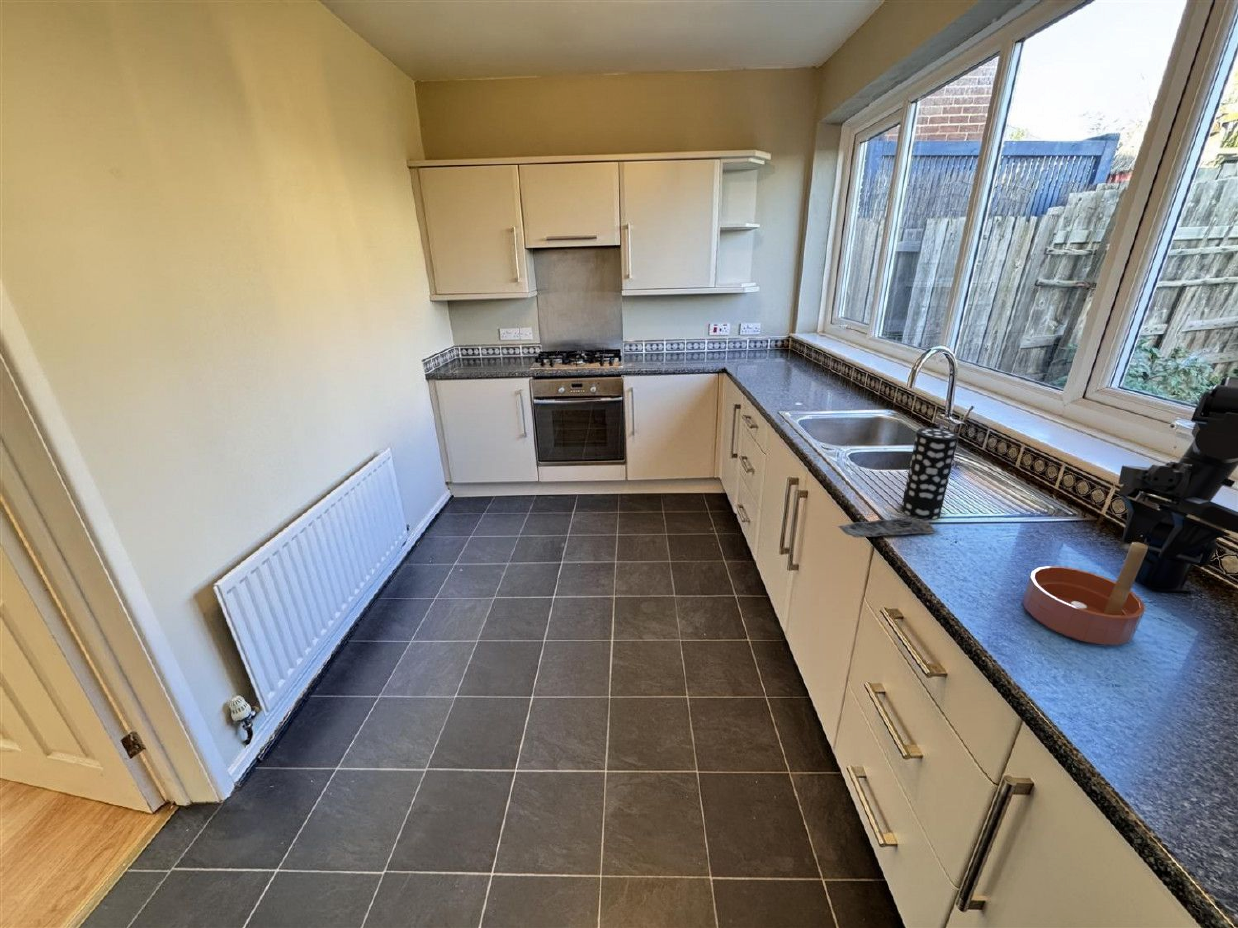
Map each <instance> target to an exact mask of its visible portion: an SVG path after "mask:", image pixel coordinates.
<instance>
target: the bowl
mask: <svg viewBox="0 0 1238 928" xmlns="http://www.w3.org/2000/svg"><path fill="white" fill-rule="evenodd" d="M1115 583H1116V581H1114V580H1112V579H1110V578H1107V577H1104V576H1102V575H1099V574H1097V573H1094V572H1090V571H1086V570H1082V569H1078V568H1074V567H1068V566H1060V565H1045V566H1039V567H1036V568H1035V569H1034V570H1032V571H1031V572H1030V575H1029V578H1028V581H1027V583H1026V587H1025V590H1024V593H1023V595H1022V596H1023V597H1022V601H1021V603H1022V605H1023V607H1024V608H1025V610H1026V611H1027V612H1028V613H1029V614H1030V615H1031V616H1032V617H1033V618H1034V619H1036V621H1038V622H1040V623H1041V624H1042V625H1044V627H1046V628H1048V629H1050V630H1052V631H1054V632H1056V633H1058V634H1061V635H1062V636H1065V637H1067V638H1071V639H1073V640H1076V641H1079V642H1084V643H1089V644H1094V645H1103V646H1104V645H1107V646H1110V645H1111V646H1118V645H1122V644H1127V643H1129V642H1130V641H1131V640H1132V639H1133V638H1134V637H1135V634H1136V632H1137V630H1138V628H1139V625H1140V623H1141V621H1142V618H1143V616H1144V613H1145V612H1146V607H1145V603H1144V602H1143V600H1141V598H1140V597H1139V596H1138V595H1137V594H1136V593H1134V592H1133V591H1131V590H1130V592H1129V595H1128V597H1127V599H1126V602H1125V604H1124V607H1123V609H1122V611H1121V614H1120V615H1107V614H1103V613H1104V611H1105V608H1106V606H1107V603H1108V601H1109V598H1110V596H1111V593H1112V591H1113V588H1114V586H1115ZM1059 599H1060V600H1059ZM1061 600H1062V601H1061ZM1064 601H1065V602H1064ZM1073 601H1077V602H1080V603H1083V604H1085V605H1086V606H1087V609H1086V610H1085V609H1082V608H1079V607H1075V606H1073V605H1071V602H1073ZM1066 602H1067V603H1066ZM1068 603H1069V604H1068Z"/></svg>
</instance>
